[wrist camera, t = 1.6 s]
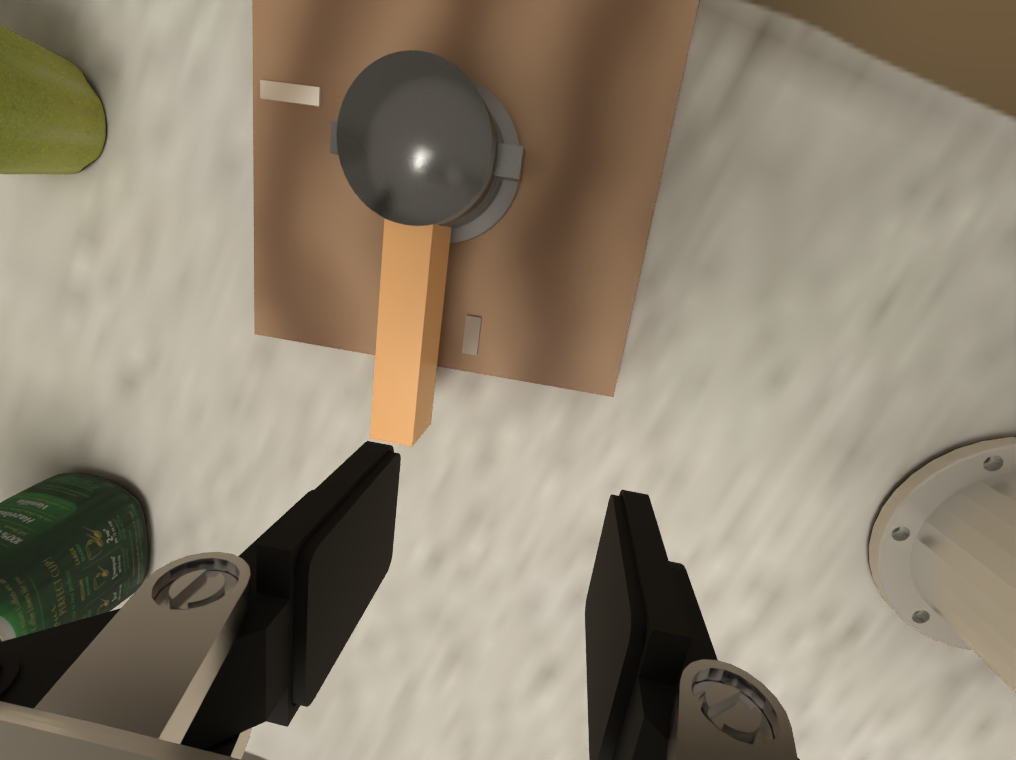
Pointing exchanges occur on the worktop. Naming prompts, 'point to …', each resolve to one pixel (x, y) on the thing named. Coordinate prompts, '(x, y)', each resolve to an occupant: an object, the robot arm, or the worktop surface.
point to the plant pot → (45, 111)
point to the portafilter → (417, 210)
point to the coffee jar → (68, 552)
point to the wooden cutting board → (518, 205)
